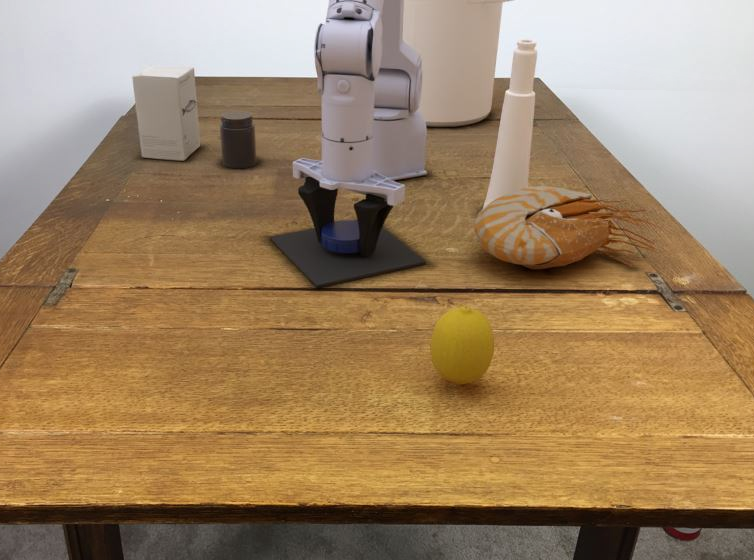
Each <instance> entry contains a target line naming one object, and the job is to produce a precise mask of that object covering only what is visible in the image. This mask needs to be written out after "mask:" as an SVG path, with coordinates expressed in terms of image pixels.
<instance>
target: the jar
mask: <svg viewBox="0 0 754 560" xmlns="http://www.w3.org/2000/svg"><path fill="white" fill-rule="evenodd" d="M220 121H221V122H220V123H219V133H220V135H219V136H220V146H221V147H220V148H221V160H222V165H223V166H224V167H226V168H229V169H239V170H241V169H248V168H251V167H254V166H255V165H256V164H257V142H256V123H255V122H253V113H252V112H250V111H247V110H229V111H224V112H223V113H221V115H220Z"/></svg>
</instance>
